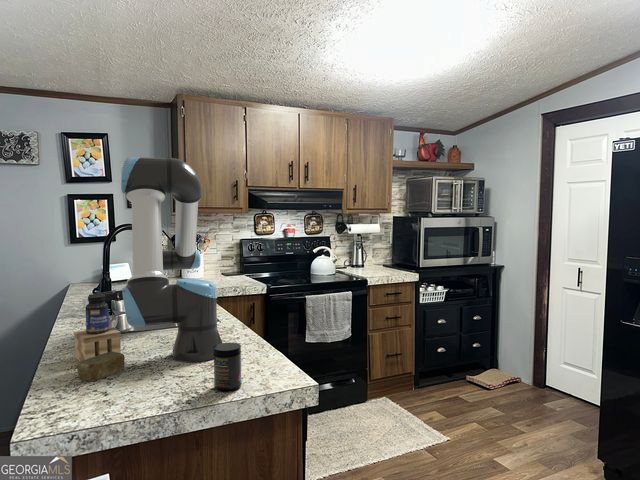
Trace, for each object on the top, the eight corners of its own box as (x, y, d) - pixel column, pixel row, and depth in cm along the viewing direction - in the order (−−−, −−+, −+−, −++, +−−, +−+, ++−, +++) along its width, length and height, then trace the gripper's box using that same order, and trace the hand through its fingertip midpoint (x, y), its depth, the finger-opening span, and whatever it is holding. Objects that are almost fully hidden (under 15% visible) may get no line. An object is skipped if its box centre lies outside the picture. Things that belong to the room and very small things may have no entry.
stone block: (76, 380, 114) (75, 361, 114) (112, 366, 125) (112, 349, 125) (91, 383, 112) (90, 364, 112) (127, 369, 123) (127, 352, 122)
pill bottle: (90, 336, 127) (88, 298, 126) (83, 332, 131) (81, 296, 131) (112, 331, 131) (110, 295, 131) (104, 328, 136) (103, 293, 135)
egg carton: (115, 328, 168) (115, 318, 168) (93, 330, 166) (93, 319, 165) (119, 322, 178) (119, 312, 178) (99, 323, 176) (98, 313, 176)
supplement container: (240, 392, 105) (239, 350, 105) (212, 393, 105) (211, 351, 104) (242, 381, 112) (242, 342, 111) (216, 383, 111) (215, 342, 111)
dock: (121, 357, 132) (120, 331, 131) (85, 366, 125) (84, 338, 124) (109, 350, 139) (108, 326, 138) (74, 358, 132) (73, 332, 131)
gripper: (172, 302, 156) (143, 315, 135) (106, 301, 158) (67, 315, 137) (171, 281, 156) (143, 292, 134) (105, 281, 158) (66, 291, 137)
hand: (104, 303), depth 136 cm, fingers open, 13 cm apart
